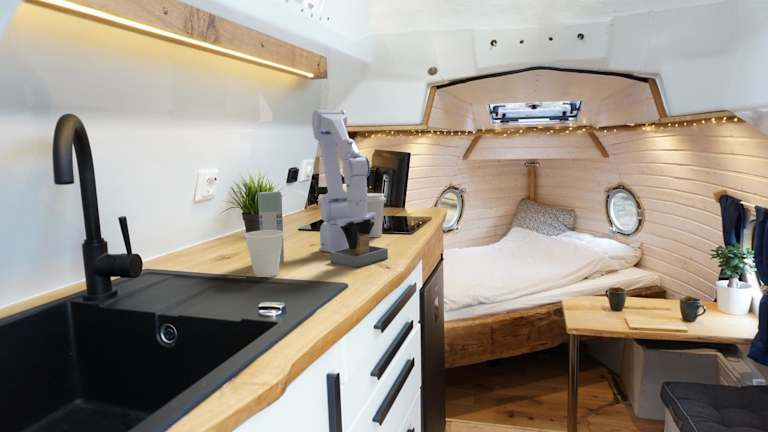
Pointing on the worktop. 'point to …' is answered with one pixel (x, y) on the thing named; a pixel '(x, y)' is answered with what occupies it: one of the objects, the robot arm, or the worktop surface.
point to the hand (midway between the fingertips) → (358, 247)
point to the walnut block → (361, 245)
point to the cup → (265, 251)
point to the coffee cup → (376, 206)
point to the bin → (359, 257)
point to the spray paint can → (271, 214)
